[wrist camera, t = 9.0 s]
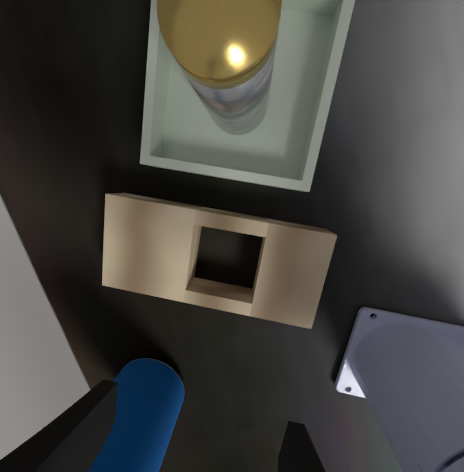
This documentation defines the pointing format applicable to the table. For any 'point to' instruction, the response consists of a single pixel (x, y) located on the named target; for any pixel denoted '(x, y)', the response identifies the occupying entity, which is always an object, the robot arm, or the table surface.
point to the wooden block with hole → (186, 250)
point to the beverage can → (141, 418)
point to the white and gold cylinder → (225, 55)
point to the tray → (278, 111)
